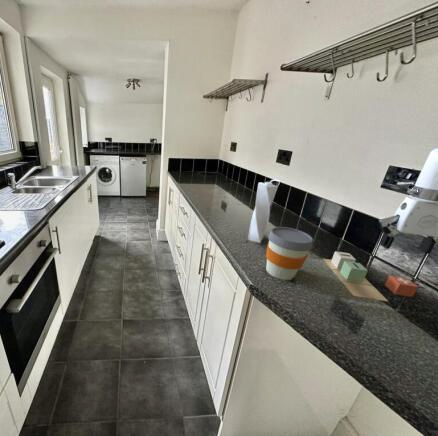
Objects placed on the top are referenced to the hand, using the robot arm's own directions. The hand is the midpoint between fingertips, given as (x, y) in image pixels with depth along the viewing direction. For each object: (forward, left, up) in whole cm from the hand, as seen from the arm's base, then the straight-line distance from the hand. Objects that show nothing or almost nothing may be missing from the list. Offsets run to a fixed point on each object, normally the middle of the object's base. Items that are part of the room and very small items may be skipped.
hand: (403, 249), depth 70 cm
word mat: (+8, -3, -15) cm, 17 cm away
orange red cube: (-3, +1, -15) cm, 15 cm away
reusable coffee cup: (+31, 0, -15) cm, 34 cm away
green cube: (+8, -3, -14) cm, 16 cm away
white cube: (+8, -10, -14) cm, 19 cm away
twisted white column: (+35, -25, -15) cm, 45 cm away
